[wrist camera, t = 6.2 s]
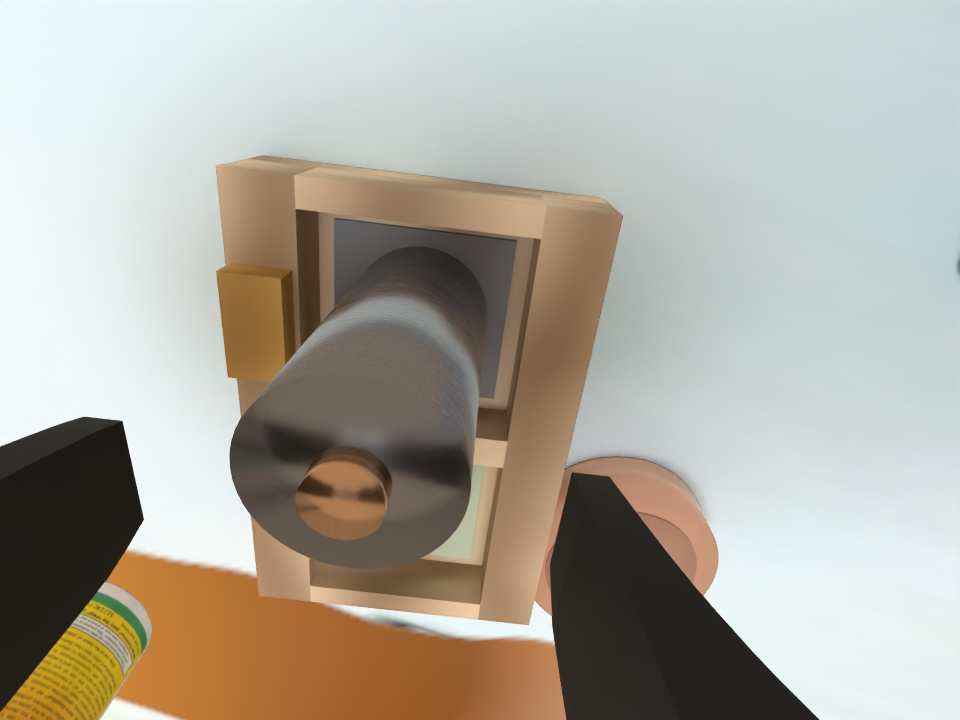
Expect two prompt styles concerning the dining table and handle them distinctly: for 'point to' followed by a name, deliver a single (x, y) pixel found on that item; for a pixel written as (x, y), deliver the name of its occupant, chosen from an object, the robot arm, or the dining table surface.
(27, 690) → the supplement bottle
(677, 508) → the dish
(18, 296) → the dining table surface
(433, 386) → the cell
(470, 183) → the board
